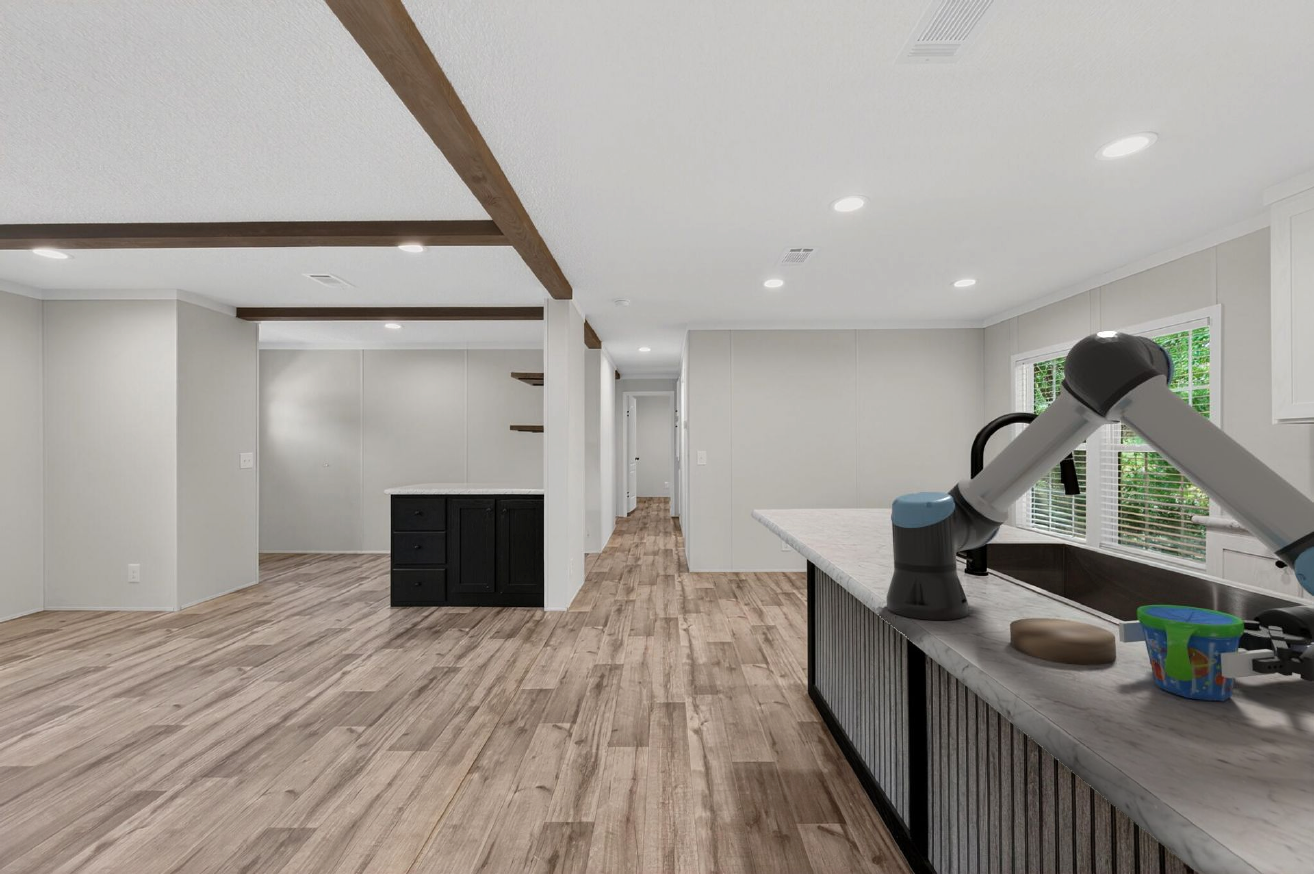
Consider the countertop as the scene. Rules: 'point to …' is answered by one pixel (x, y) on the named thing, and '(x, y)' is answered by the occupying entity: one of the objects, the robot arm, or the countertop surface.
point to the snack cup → (1190, 649)
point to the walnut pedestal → (1063, 641)
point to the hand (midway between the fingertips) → (1168, 647)
